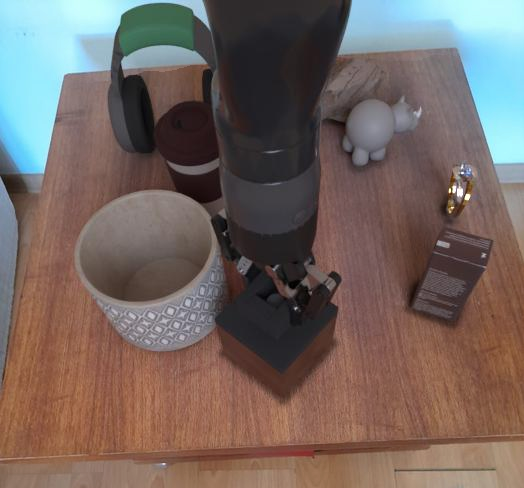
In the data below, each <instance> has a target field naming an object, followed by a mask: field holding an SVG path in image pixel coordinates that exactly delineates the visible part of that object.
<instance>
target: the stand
mask: <svg viewBox="0 0 524 488" xmlns="http://www.w3.org/2000/svg"><path fill="white" fill-rule="evenodd" d="M338 314H339V312H338V313H337V314H336V315H335V316H334V317H333V318H332V319H331V321H330V322H329V323H328V324H327V325H326V326H325V327H324V328H323V329H322V331H321V332H320V333H319V334H318V335H317V336H316V337H315V338H314V340H313V341H312V342H311V343H310V344H309V345H308V346H307V347H306V349H305V350H304V351H303V352H302V353H301V354H300V355H299V356H298V357H297V359H296V360H295V361H294V362H293V363H292V364H291V365H290V366H289V368H288V369H287V370H286V371H285V372H284V373H283V374H281V373H280V372H279V371H277V370H276V369H275V368H273V367H272V366H271V365H269V364H268V363H267V362H266V361H264V360H263V359H262V358H260V357H259V356H258V355H256V354H255V353H254V352H252V351H251V350H250V349H249V348H247V347H246V346H245V345H243V344H242V343H241V342H239V341H238V340H237V339H235V338H234V337H233V336H232V335H230V334H229V333H228V332H226V331H225V330H224V329H222V328H221V327H220V326H219V325H217V324H216V329H217V332H218V336H219V340H220V343H221V347H222V350H223V353H224V354H225V355H226V356H228V357H229V358H230V359H232V361H234V362H235V363H237V364H238V365H239V366H240V367H242V368H243V369H244V370H246V371H247V373H249V374H251V375H252V376H253V377H254V378H256V379H257V380H258V381H260V382H261V383H262V384H263V385H265V386H266V387H267V388H269V389H270V390H271V391H272V392H273V393H275V394H276V395H277V396H278V397H280V398H282V399H285V398H286V397H287V395H288V394H290V392H291V391H292V390H293V389H294V388H295V386H296V385H297V384H298V383H299V382H300V381H301V379H302V378H303V377H304V376H305V375H306V374H307V373H308V371H309V370H310V369H311V368H312V367H313V366H314V365H315V364H316V362H317V361H318V360H319V359H320V358H321V357H322V355H323V354H324V353H325V352H326V351H327V350H328V348H329V347H330V346H331V345H332V344H333V341H334V334H335V330H336V324H337V318H338Z"/></svg>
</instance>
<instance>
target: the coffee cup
mask: <svg viewBox="0 0 524 488" xmlns="http://www.w3.org/2000/svg"><path fill="white" fill-rule="evenodd" d="M154 140H155V146H156V150H157V151H158V154H159V155H161V157H162V159H164V162H165V165H166V167H167V171H168V173H169V175H170V179H171V181H172V183H173V186H174V188H175V192H177V193H181V194H183V195H185V196H188V197H190V198H192V199H193V200H195V201H196V202H198V203H199V204H200V205H201V206H202V207H204V208H205V210H206V211H207V212H208V213H209V215H210V216H211V218H213V217H214V216H215V215H216V214H217V213H218V212H219V211H220V210H221V209H222V208H224V203H223V197H222V191H221V185H220V177H219V151H218V145H217V139H216V133H215V127H214V121H213V114H212V106H211V105H209V104H206V103H204V102H203V101H200V100H186V101H182V102H179V103H176V104H175V105H173V106H172V107H170V108H169V109H168V110H167V111H166V112H165V113H164V114H162V115H161V117H160V118H159V119H158V121H157V122H156V123H155V129H154Z"/></svg>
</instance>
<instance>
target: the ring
mask: <svg viewBox="0 0 524 488" xmlns="http://www.w3.org/2000/svg"><path fill="white" fill-rule="evenodd" d="M467 161H468V160H466V159H464V160H463V161H462V162H461V164H460V165H458V164H453V165H452V169H451V175H450V181H449V187H448V192H447V199H446V200H447V201H446V206H445V212H446V216H447V218H452V219H453V218H454V219H456V218H458V217H459V215H461V213H462V212H463V211H464V209H465V207H466V206H467V203H468V202H469V199H470V197H471V194H472V192H473V188H474V184H475V181H476V180H477V178H478V171H477V169H476V168H475V166H473V165H472V164H470V163H467ZM462 182H463V183H466V186H465V190H464V193H463V184H462ZM456 189H457V190H456ZM456 192H457V194H456V200H455V193H456ZM463 194H464V195H463ZM454 200H455V203H454Z"/></svg>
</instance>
